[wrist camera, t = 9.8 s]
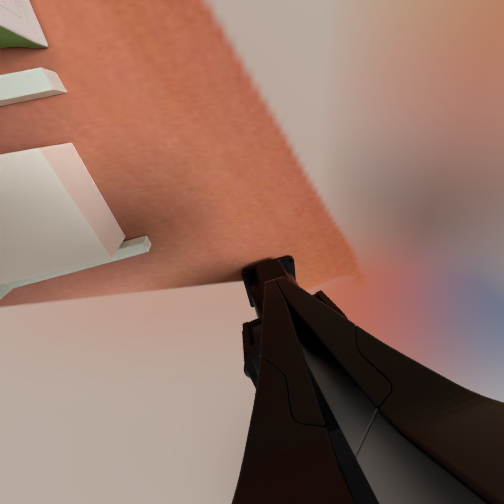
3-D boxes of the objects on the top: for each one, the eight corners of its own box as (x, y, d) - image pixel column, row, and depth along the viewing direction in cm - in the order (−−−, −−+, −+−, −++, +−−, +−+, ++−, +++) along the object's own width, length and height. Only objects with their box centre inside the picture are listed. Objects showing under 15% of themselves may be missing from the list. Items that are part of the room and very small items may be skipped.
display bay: (151, 243, 20) (139, 275, 16) (13, 280, 19) (-38, 324, 15) (56, 72, 13) (-12, 49, 9) (-177, 118, 12) (-379, 115, 8)
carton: (126, 235, 19) (111, 258, 16) (31, 256, 19) (-5, 285, 15) (73, 142, 15) (38, 147, 12) (-56, 164, 14) (-133, 177, 11)
